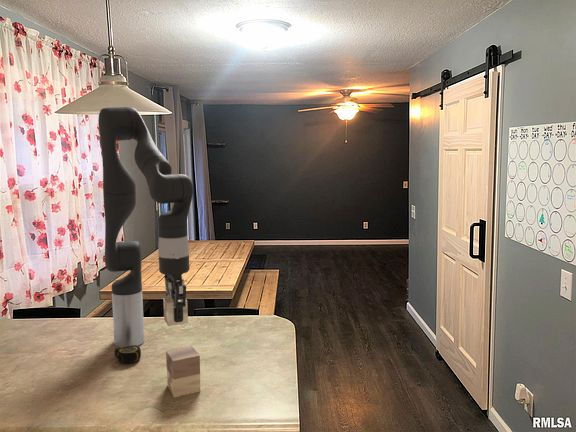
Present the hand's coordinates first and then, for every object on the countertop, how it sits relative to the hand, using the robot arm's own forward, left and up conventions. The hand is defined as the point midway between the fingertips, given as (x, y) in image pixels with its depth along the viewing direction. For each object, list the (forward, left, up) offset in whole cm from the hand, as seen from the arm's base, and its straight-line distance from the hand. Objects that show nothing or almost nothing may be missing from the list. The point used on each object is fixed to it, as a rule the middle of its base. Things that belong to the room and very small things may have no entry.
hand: (176, 317), depth 128 cm
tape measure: (-24, -9, -20) cm, 33 cm away
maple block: (0, 0, -1) cm, 1 cm away
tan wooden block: (0, +1, -20) cm, 20 cm away
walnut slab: (0, +1, -15) cm, 15 cm away
